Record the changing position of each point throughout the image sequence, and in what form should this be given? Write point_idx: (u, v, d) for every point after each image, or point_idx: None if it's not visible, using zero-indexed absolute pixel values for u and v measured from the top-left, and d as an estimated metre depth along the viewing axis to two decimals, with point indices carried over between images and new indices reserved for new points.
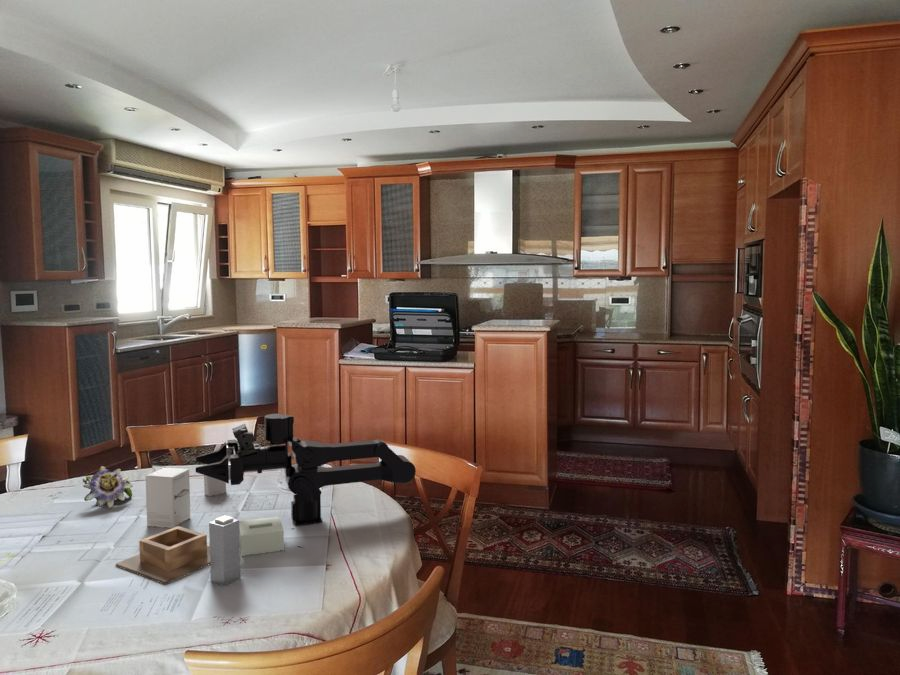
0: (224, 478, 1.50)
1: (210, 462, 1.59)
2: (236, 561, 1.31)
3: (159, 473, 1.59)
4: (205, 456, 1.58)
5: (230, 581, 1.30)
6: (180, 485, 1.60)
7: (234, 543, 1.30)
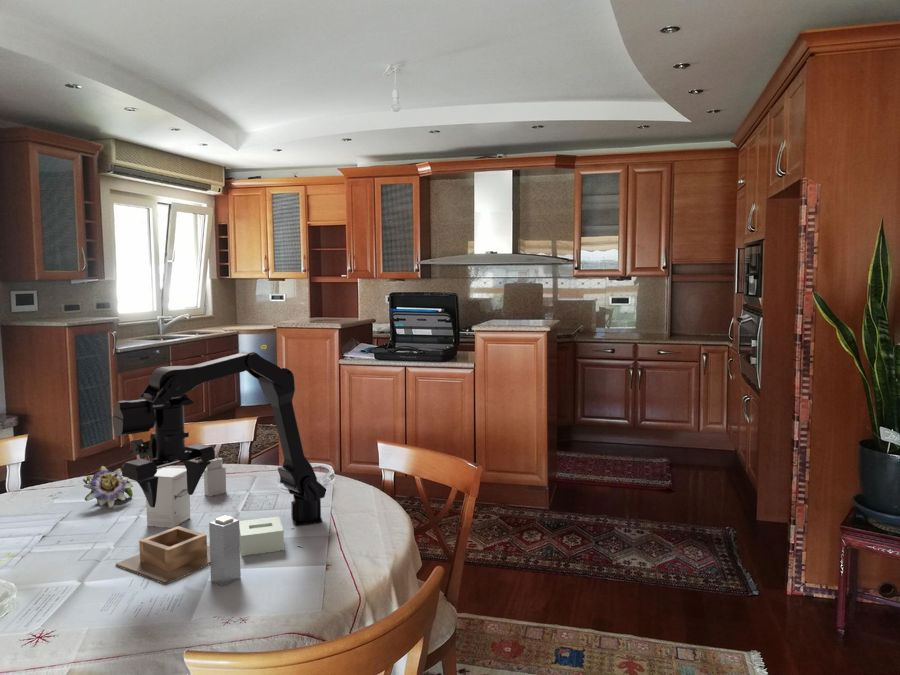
0: (148, 482, 1.32)
1: (193, 480, 1.42)
2: (236, 561, 1.31)
3: (159, 473, 1.59)
4: (188, 484, 1.43)
5: (230, 581, 1.30)
6: (180, 485, 1.60)
7: (234, 543, 1.30)
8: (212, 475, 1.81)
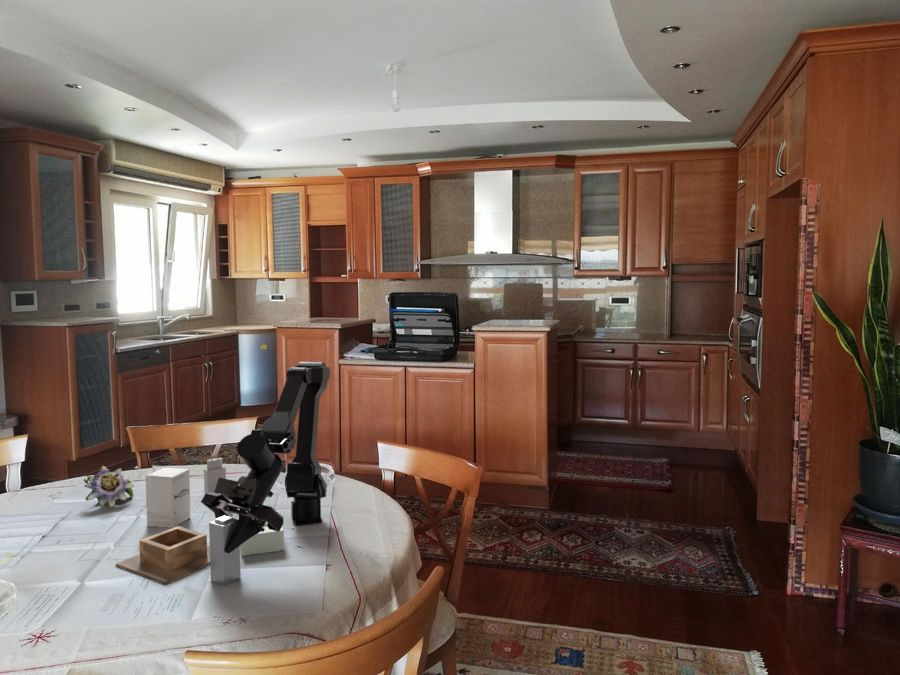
0: (256, 530, 1.32)
1: None
2: (236, 561, 1.31)
3: (159, 473, 1.59)
4: None
5: (230, 581, 1.30)
6: (180, 485, 1.60)
7: None
8: (212, 475, 1.81)
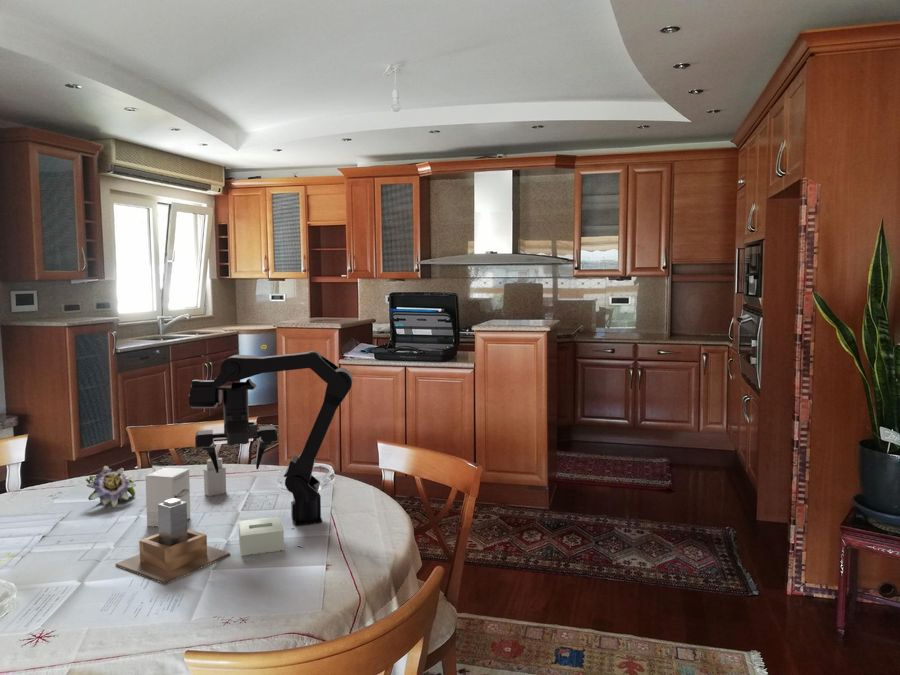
0: None
1: None
2: None
3: (159, 473, 1.59)
4: (217, 464, 1.58)
5: None
6: (180, 485, 1.60)
7: (181, 524, 1.39)
8: (212, 475, 1.81)
